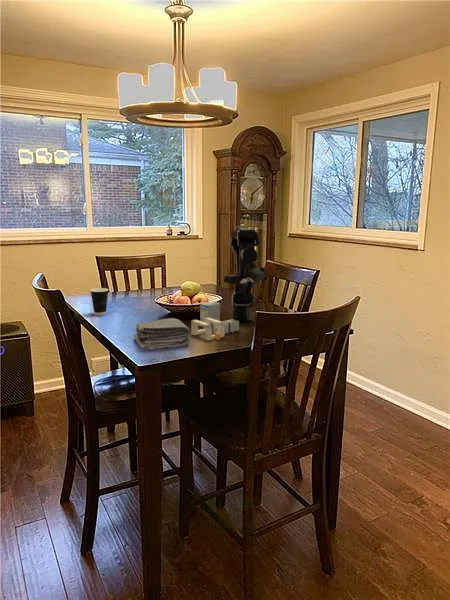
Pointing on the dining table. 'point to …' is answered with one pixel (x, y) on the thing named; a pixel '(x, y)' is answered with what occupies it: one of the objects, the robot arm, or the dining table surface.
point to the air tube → (228, 326)
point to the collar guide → (208, 328)
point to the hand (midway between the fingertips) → (245, 298)
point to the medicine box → (210, 311)
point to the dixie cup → (99, 300)
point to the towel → (162, 334)
